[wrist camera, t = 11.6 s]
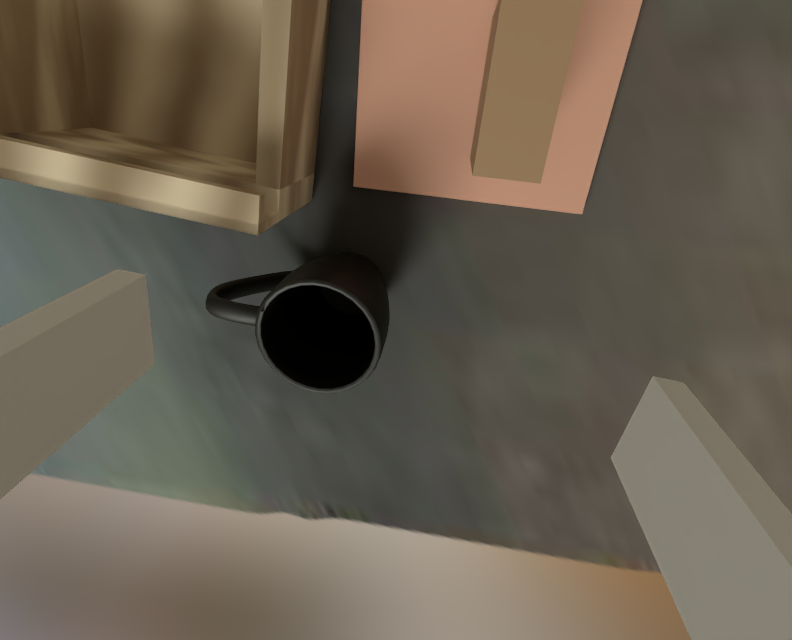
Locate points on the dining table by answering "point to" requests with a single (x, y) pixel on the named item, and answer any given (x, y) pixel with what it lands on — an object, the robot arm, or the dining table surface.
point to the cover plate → (446, 94)
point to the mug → (314, 320)
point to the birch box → (166, 103)
